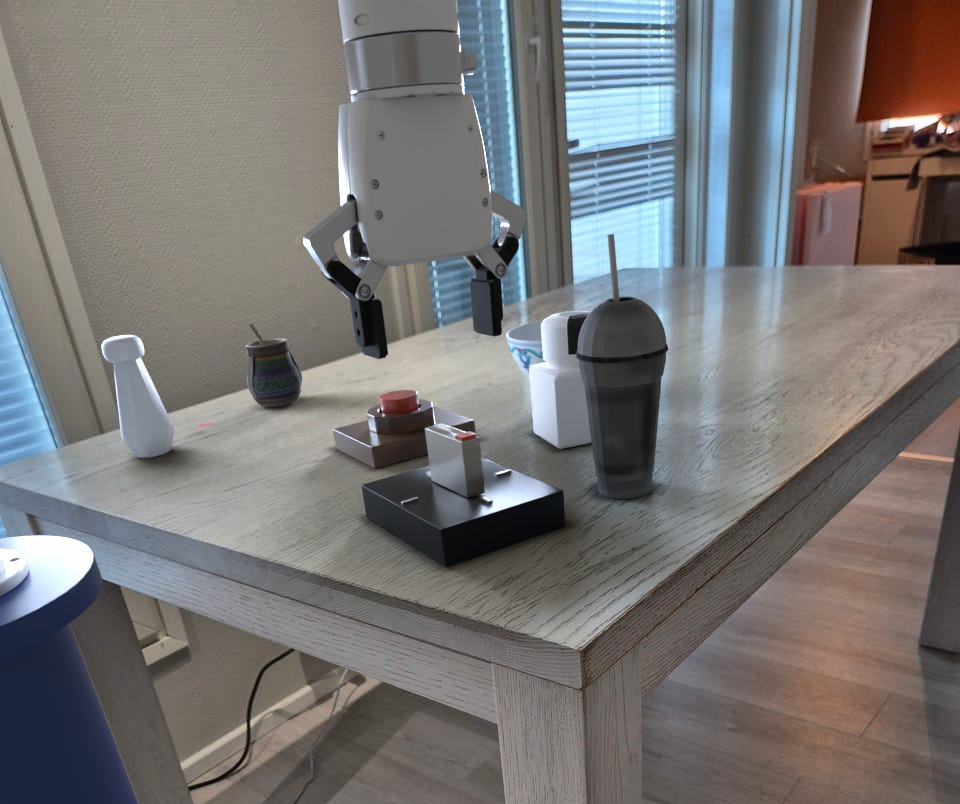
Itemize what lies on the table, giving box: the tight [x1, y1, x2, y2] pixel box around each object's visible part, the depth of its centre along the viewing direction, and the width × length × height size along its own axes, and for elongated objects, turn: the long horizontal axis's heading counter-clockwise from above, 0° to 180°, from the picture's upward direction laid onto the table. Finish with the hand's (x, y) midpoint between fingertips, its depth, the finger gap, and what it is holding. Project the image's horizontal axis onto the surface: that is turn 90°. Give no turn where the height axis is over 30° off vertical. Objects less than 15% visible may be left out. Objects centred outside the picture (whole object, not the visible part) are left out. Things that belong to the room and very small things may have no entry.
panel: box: [360, 457, 566, 568], centre depth 71 cm, size 11×14×3 cm
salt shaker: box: [101, 334, 175, 459], centre depth 97 cm, size 6×6×13 cm
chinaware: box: [505, 319, 546, 381], centre depth 102 cm, size 15×15×8 cm
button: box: [378, 389, 419, 414], centre depth 91 cm, size 4×4×2 cm
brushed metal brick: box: [425, 423, 485, 498], centre depth 69 cm, size 6×2×5 cm, turn 32°
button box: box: [332, 398, 477, 469], centre depth 92 cm, size 12×10×4 cm
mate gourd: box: [244, 323, 303, 409], centre depth 114 cm, size 7×8×10 cm
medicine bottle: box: [529, 310, 592, 450], centre depth 86 cm, size 7×7×12 cm
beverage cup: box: [576, 233, 669, 500], centre depth 69 cm, size 7×7×20 cm
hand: (433, 344), depth 65 cm, fingers open, 9 cm apart
